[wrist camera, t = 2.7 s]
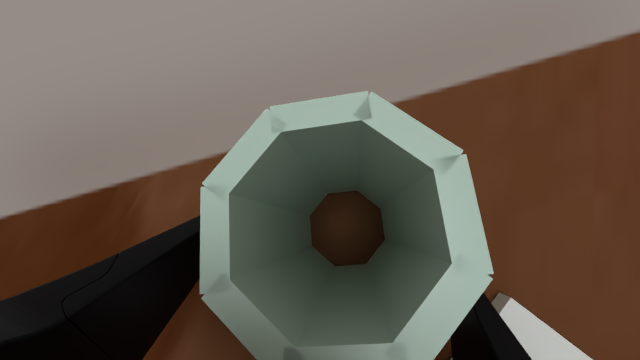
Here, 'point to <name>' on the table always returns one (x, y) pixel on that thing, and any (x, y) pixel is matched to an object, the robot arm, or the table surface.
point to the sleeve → (310, 265)
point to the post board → (535, 333)
